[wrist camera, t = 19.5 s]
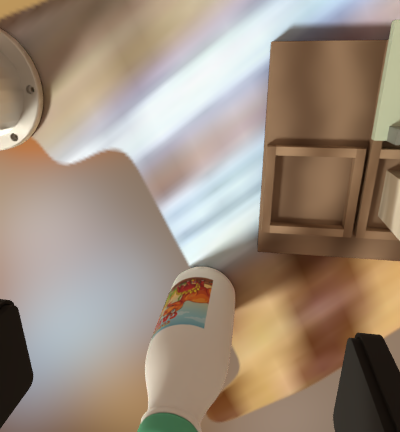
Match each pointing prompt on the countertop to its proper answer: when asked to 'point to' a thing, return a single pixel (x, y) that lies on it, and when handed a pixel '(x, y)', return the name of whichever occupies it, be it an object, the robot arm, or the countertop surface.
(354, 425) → the robot arm
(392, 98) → the lid
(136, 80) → the countertop surface
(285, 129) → the board
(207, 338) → the milk bottle
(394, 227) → the block
